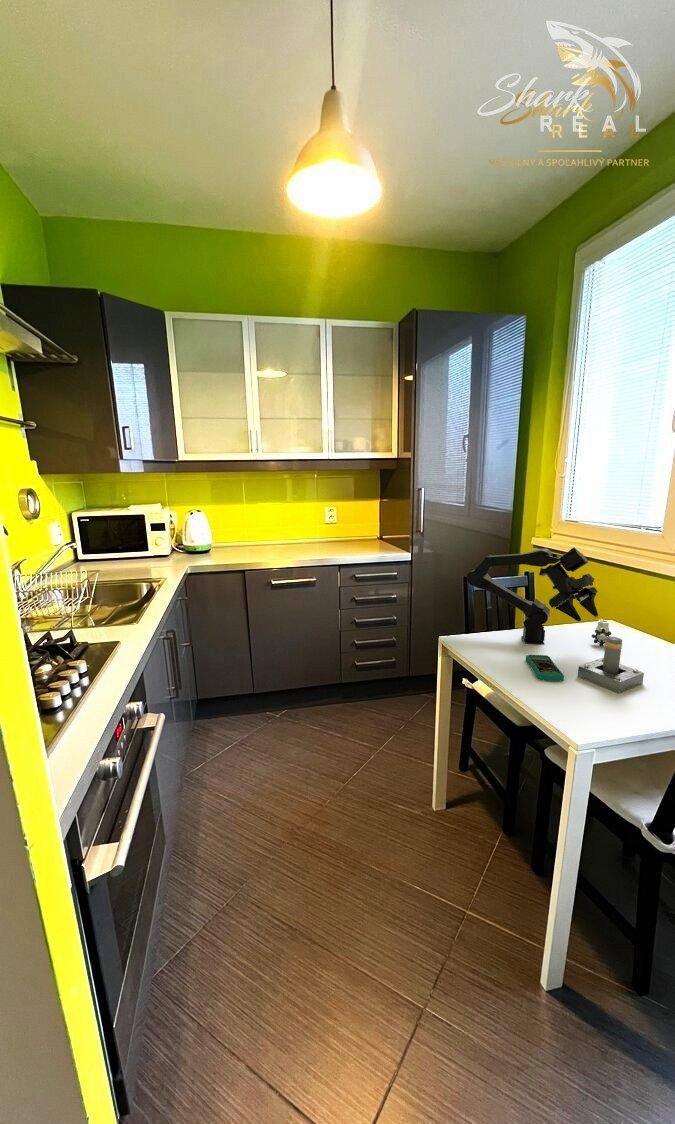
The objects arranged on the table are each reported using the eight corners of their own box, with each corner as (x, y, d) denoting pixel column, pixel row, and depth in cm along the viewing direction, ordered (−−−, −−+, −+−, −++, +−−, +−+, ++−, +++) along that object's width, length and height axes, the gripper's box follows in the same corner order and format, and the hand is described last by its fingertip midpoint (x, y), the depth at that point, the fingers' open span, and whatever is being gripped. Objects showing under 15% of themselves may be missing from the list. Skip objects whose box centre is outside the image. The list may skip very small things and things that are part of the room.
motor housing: (577, 676, 128) (578, 664, 127) (601, 668, 134) (602, 656, 133) (618, 693, 118) (620, 680, 117) (642, 683, 123) (644, 670, 122)
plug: (605, 682, 124) (610, 641, 122) (598, 676, 128) (603, 636, 126) (620, 683, 123) (625, 641, 121) (613, 677, 127) (618, 636, 125)
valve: (591, 634, 163) (590, 644, 153) (593, 618, 162) (592, 627, 152) (612, 637, 159) (612, 648, 149) (614, 621, 158) (614, 630, 148)
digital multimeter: (538, 682, 126) (539, 673, 125) (524, 661, 140) (525, 653, 140) (564, 683, 125) (565, 674, 124) (548, 662, 139) (549, 654, 139)
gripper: (560, 569, 137) (590, 610, 129) (594, 563, 145) (625, 602, 138) (536, 587, 145) (564, 627, 138) (571, 581, 154) (598, 618, 146)
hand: (588, 618), depth 140 cm, fingers open, 9 cm apart
